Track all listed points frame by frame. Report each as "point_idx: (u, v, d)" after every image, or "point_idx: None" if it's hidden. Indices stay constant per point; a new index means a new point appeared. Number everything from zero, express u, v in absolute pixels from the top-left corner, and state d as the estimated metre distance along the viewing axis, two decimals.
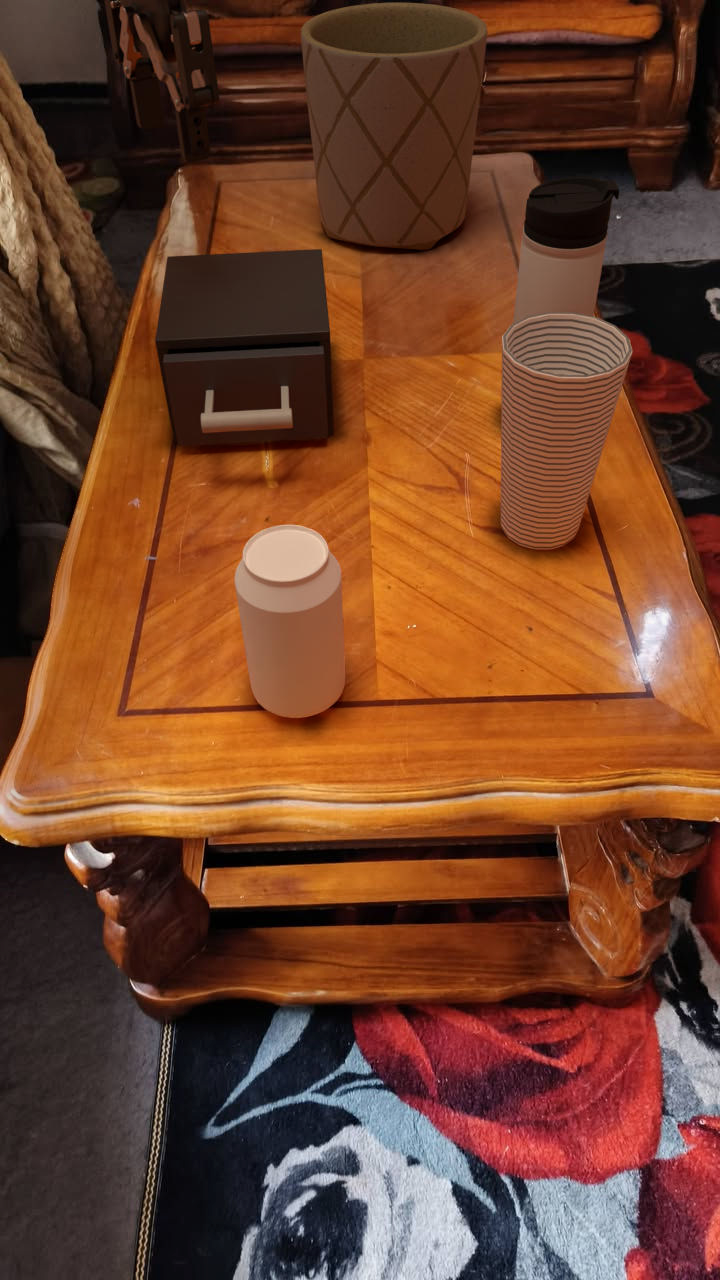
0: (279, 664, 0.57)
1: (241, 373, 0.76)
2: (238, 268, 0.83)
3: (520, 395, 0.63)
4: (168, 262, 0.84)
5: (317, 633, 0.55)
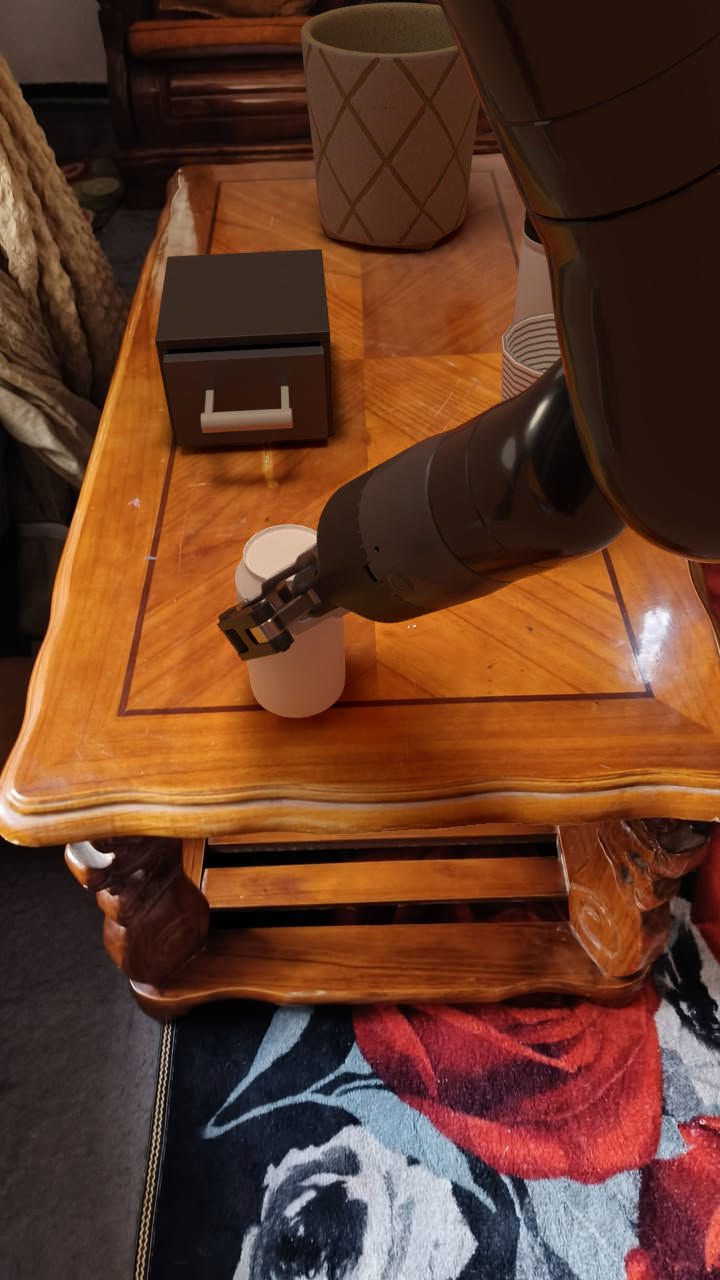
0: (279, 664, 0.57)
1: (241, 373, 0.76)
2: (238, 268, 0.83)
3: None
4: (168, 262, 0.84)
5: (317, 633, 0.55)
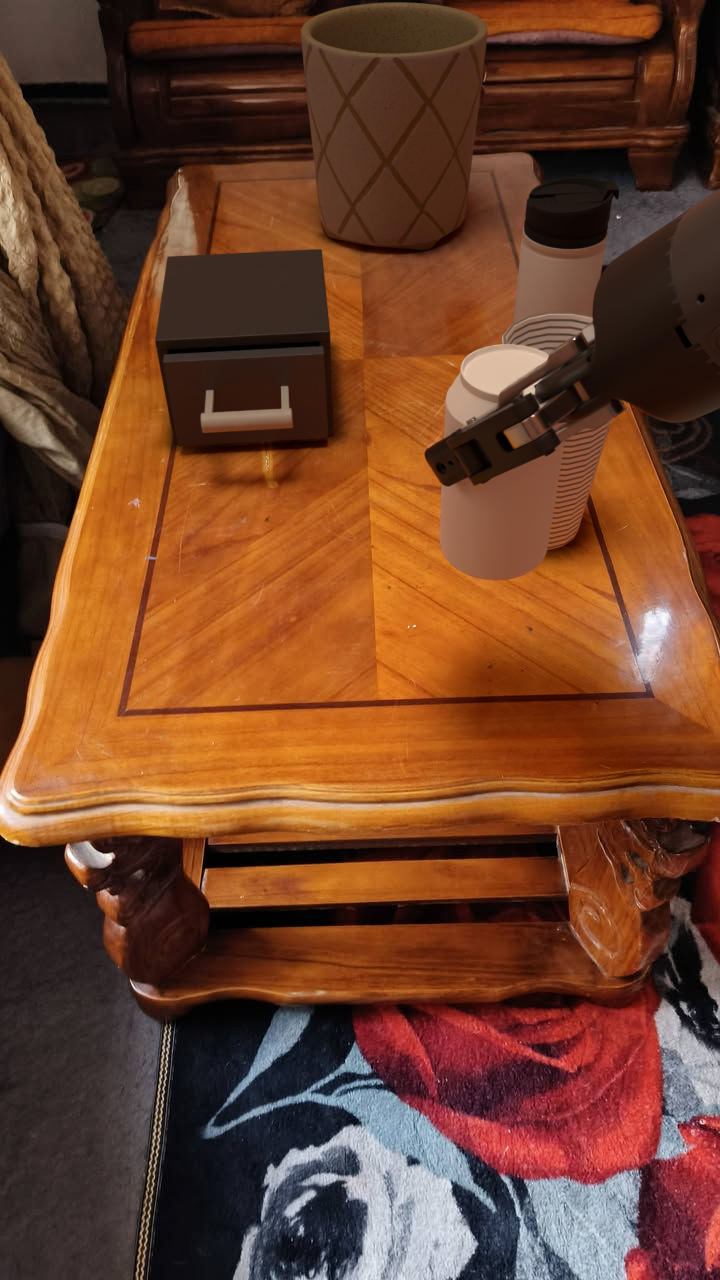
0: (493, 508, 0.49)
1: (241, 373, 0.76)
2: (238, 268, 0.83)
3: None
4: (168, 262, 0.84)
5: (543, 467, 0.48)
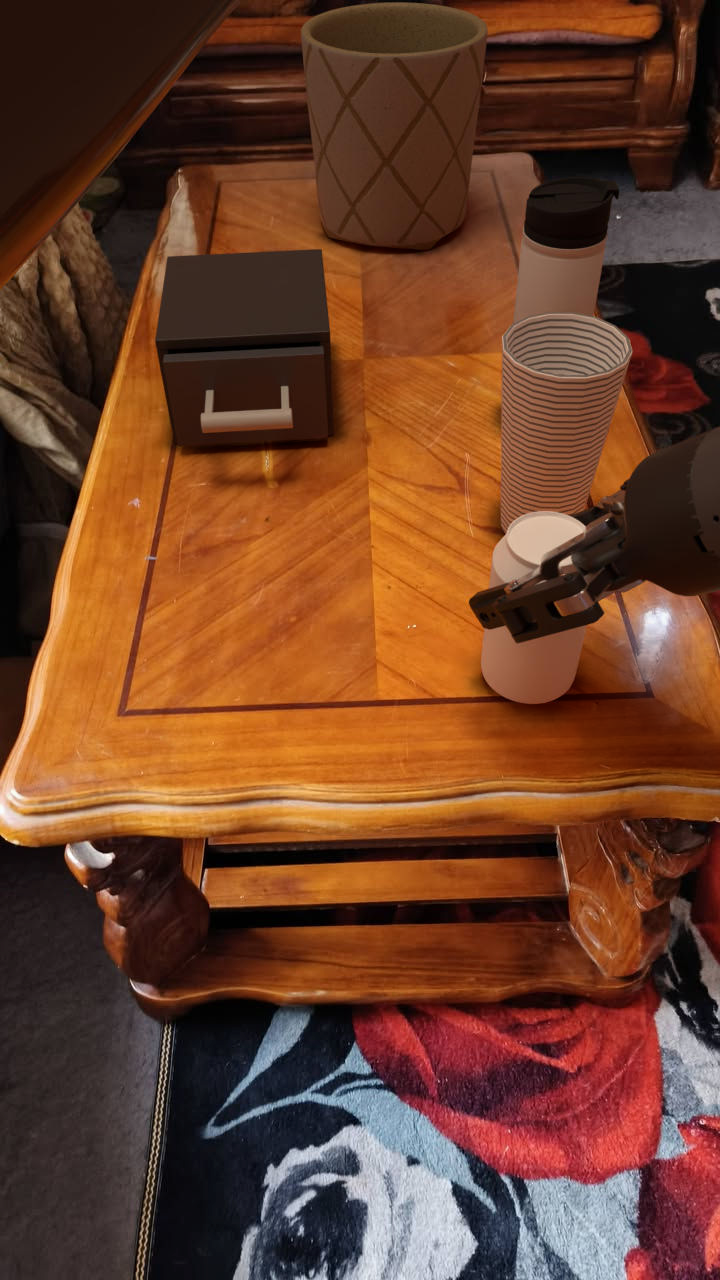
0: (531, 650, 0.57)
1: (241, 373, 0.76)
2: (238, 268, 0.83)
3: (520, 395, 0.63)
4: (168, 262, 0.84)
5: None
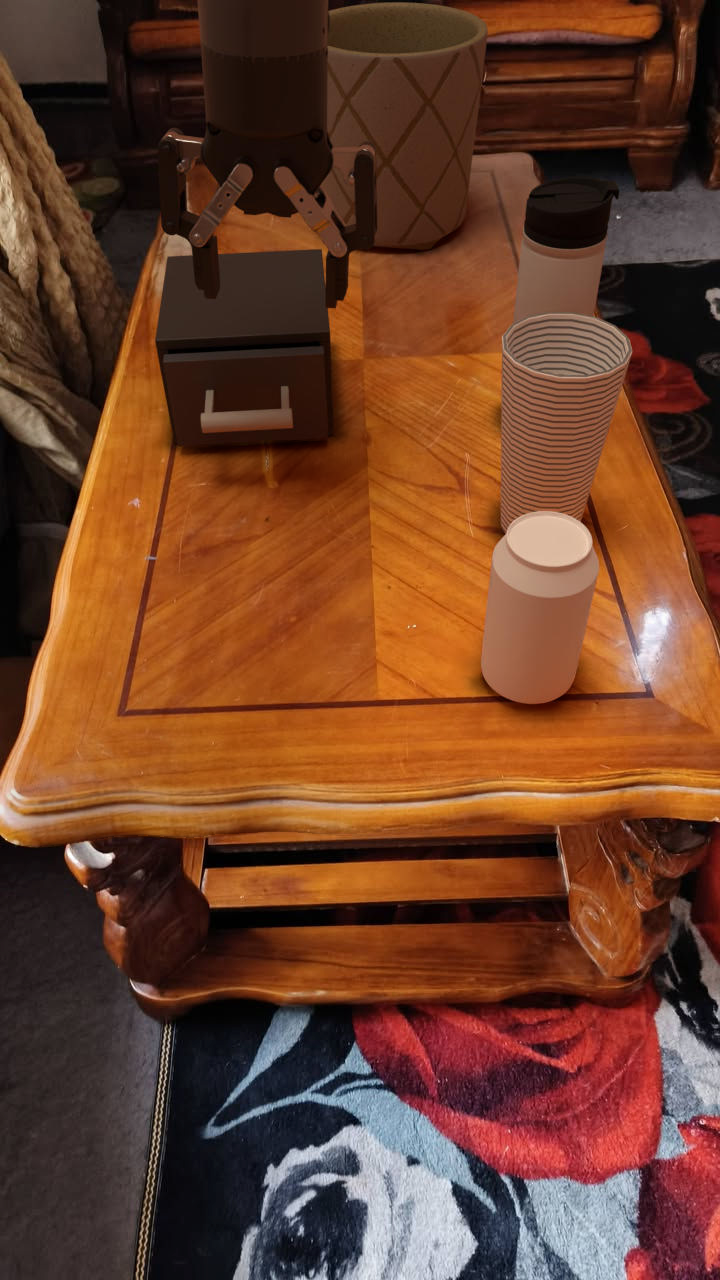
0: (531, 650, 0.57)
1: (241, 373, 0.76)
2: (238, 268, 0.83)
3: (520, 395, 0.63)
4: (168, 262, 0.84)
5: (575, 618, 0.56)
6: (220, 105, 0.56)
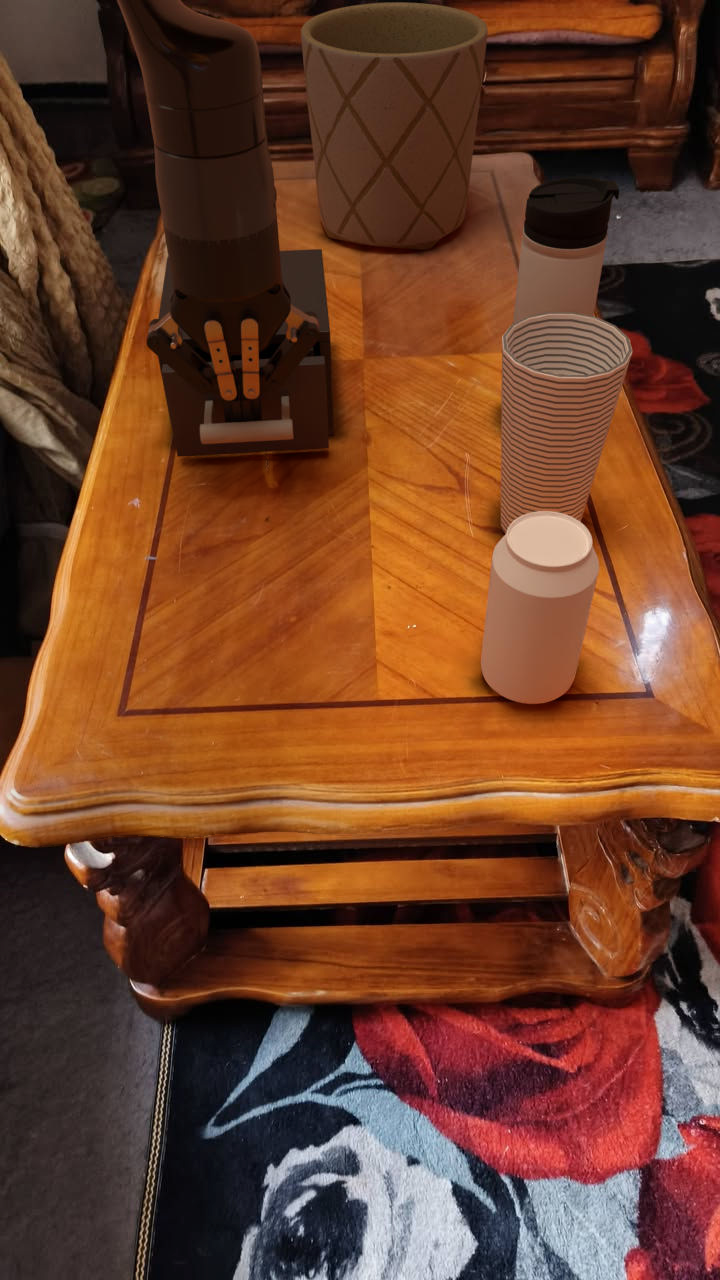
0: (531, 650, 0.57)
1: (241, 383, 0.75)
2: None
3: (520, 395, 0.63)
4: (168, 262, 0.84)
5: (575, 618, 0.56)
6: (190, 279, 0.63)
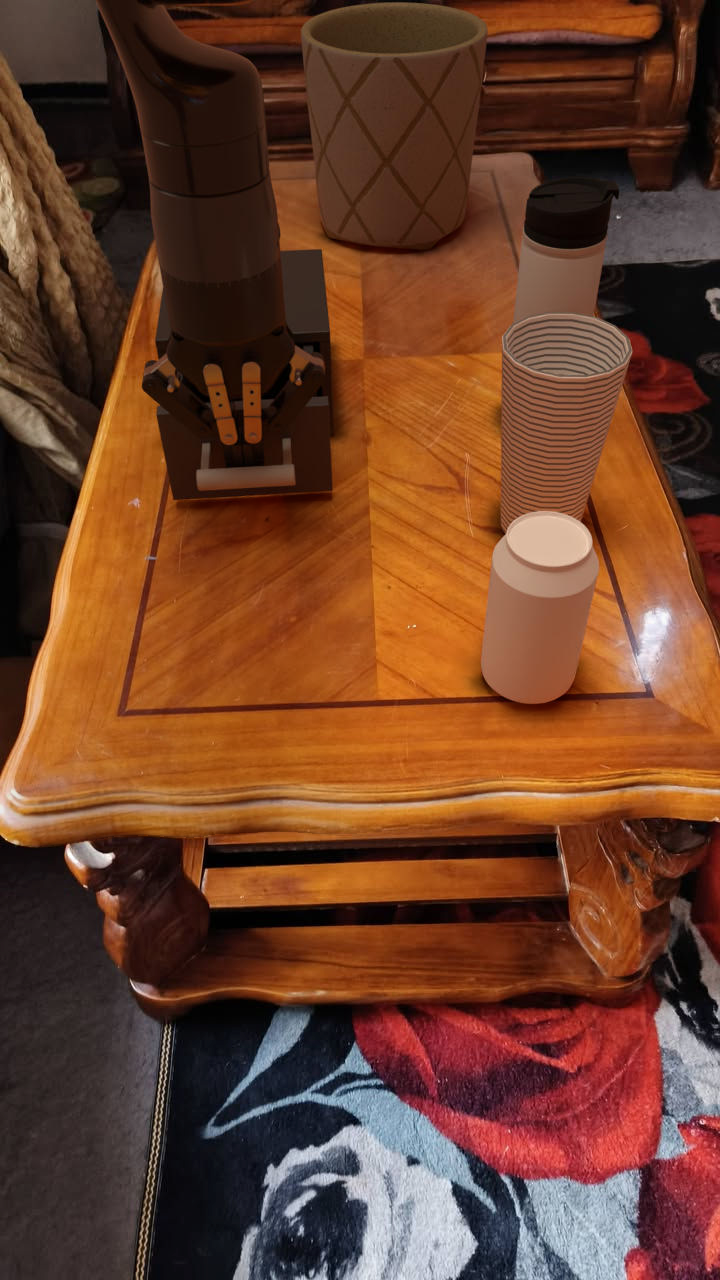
0: (531, 650, 0.57)
1: (240, 425, 0.71)
2: None
3: (520, 395, 0.63)
4: None
5: (575, 618, 0.56)
6: (188, 322, 0.59)
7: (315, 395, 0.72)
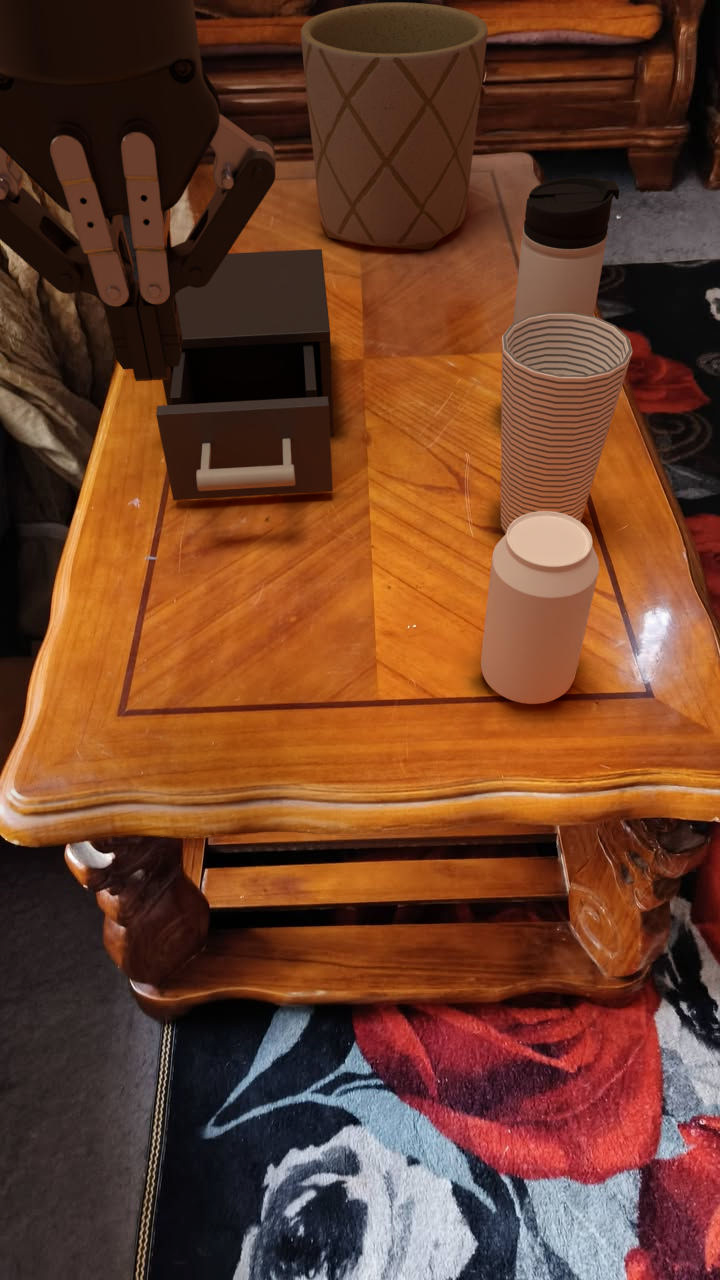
0: (531, 650, 0.57)
1: (240, 426, 0.71)
2: (238, 268, 0.83)
3: (520, 395, 0.63)
4: None
5: (575, 618, 0.56)
6: (3, 31, 0.31)
7: (315, 395, 0.72)
